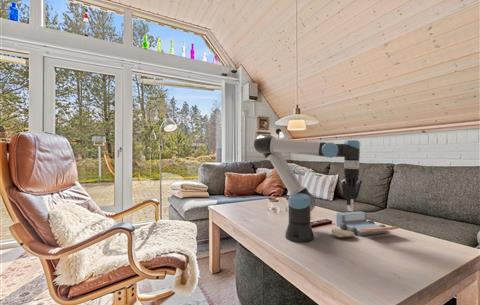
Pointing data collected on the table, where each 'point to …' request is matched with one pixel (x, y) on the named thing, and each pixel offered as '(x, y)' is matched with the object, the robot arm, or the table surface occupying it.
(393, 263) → the table surface
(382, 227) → the tailgate
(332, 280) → the table surface
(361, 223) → the truck bed
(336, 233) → the seashell
